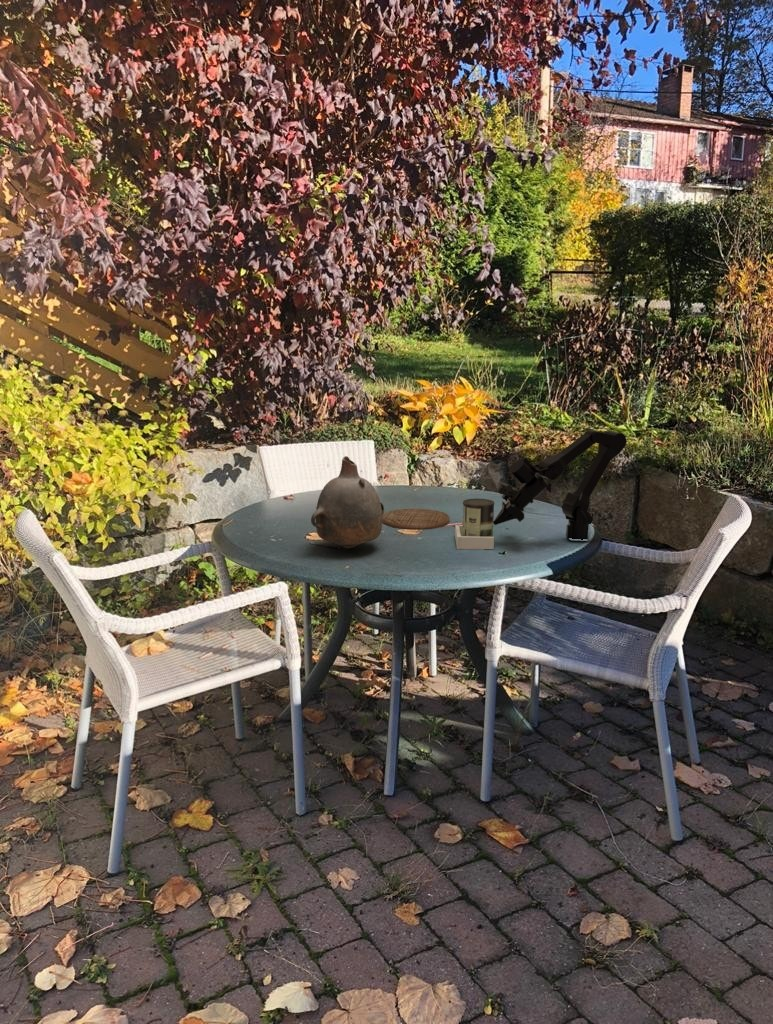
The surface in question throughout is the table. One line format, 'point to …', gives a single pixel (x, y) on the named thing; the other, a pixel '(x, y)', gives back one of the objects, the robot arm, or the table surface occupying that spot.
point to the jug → (348, 509)
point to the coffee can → (478, 517)
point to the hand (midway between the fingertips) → (493, 523)
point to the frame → (472, 540)
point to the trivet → (415, 519)
